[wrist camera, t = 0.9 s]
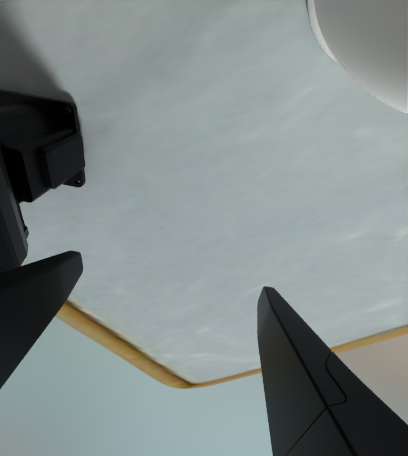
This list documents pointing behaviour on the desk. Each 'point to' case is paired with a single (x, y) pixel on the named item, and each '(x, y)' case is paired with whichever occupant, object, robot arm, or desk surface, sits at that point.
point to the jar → (367, 43)
